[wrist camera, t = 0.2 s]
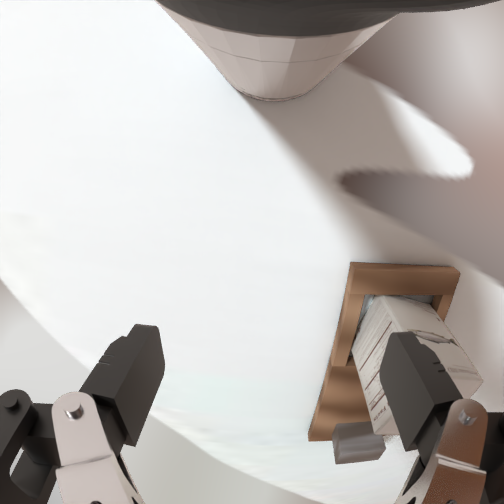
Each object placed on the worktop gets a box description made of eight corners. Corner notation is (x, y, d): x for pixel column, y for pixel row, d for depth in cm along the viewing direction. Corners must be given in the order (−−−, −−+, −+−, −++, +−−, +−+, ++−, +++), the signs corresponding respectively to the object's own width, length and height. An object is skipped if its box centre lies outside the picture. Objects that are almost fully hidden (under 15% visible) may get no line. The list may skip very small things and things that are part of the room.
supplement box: (431, 302, 28) (487, 381, 17) (398, 353, 31) (434, 437, 20) (378, 285, 28) (429, 374, 16) (345, 342, 31) (372, 438, 19)
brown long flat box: (350, 261, 27) (370, 298, 21) (453, 267, 26) (486, 297, 20) (307, 433, 37) (310, 470, 31) (384, 427, 37) (393, 461, 31)
